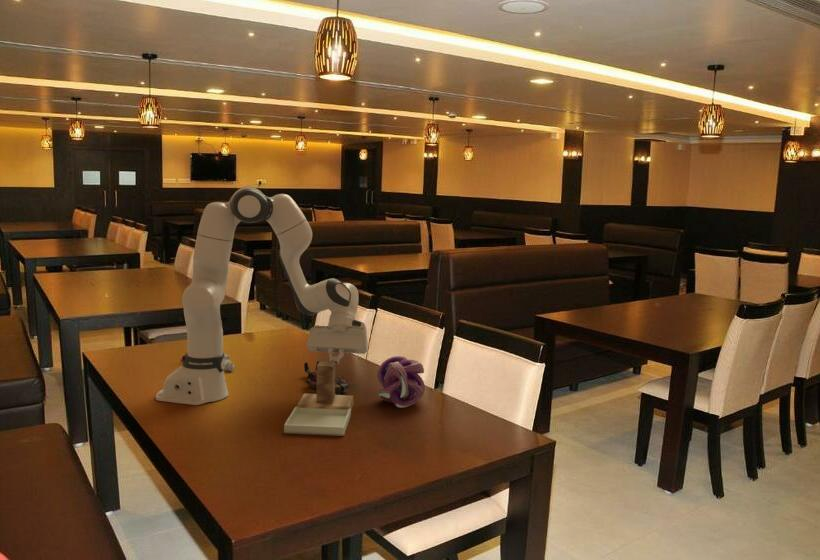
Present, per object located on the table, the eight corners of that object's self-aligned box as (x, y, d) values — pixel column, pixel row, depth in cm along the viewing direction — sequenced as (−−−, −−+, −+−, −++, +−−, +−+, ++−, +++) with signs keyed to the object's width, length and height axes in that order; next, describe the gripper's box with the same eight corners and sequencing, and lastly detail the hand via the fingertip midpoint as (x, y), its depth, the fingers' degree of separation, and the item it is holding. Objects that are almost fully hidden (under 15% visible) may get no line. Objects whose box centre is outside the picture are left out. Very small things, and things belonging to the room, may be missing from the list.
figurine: (328, 360, 233) (358, 382, 206) (328, 375, 234) (357, 399, 207) (295, 363, 227) (321, 386, 201) (295, 378, 228) (321, 404, 202)
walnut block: (316, 403, 193) (316, 365, 191) (319, 397, 198) (319, 361, 196) (332, 403, 193) (333, 366, 191) (334, 398, 198) (335, 362, 196)
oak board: (297, 413, 192) (297, 404, 192) (304, 402, 202) (304, 393, 202) (349, 415, 192) (349, 406, 191) (353, 404, 202) (353, 395, 201)
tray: (284, 433, 177) (284, 424, 176) (295, 413, 192) (296, 405, 192) (343, 436, 176) (343, 427, 176) (350, 416, 192) (350, 408, 191)
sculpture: (425, 418, 198) (433, 379, 215) (412, 377, 191) (421, 340, 208) (379, 422, 202) (390, 384, 219) (364, 382, 195) (378, 345, 212)
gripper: (309, 320, 210) (301, 356, 202) (369, 323, 208) (363, 359, 200) (313, 330, 215) (305, 365, 207) (371, 333, 213) (365, 368, 205)
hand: (334, 362), depth 203 cm, fingers closed
